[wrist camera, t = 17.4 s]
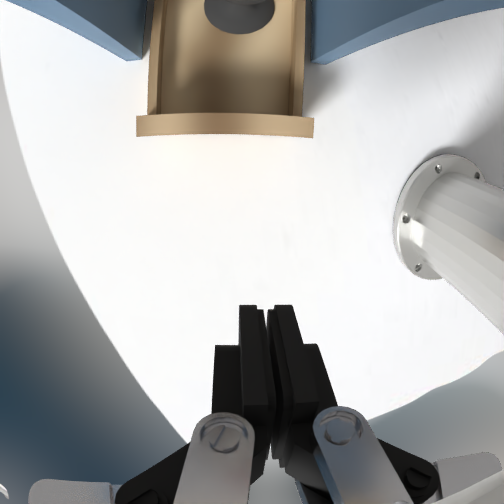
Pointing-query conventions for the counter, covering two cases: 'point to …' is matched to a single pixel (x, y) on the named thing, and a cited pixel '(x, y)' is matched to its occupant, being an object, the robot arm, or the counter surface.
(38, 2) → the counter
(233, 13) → the sundae
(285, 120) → the tray
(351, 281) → the counter surface
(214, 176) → the counter surface
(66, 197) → the counter surface
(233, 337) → the counter surface
